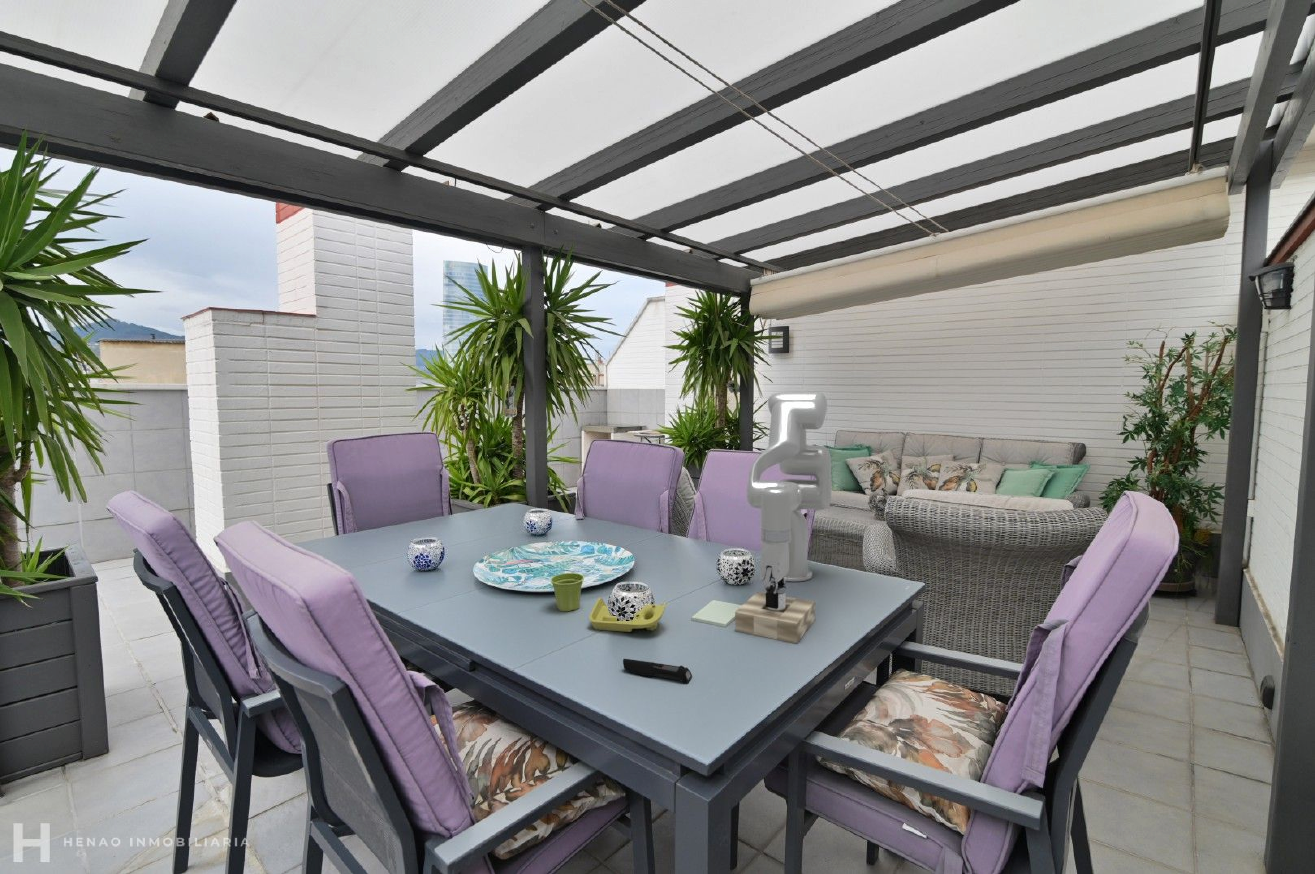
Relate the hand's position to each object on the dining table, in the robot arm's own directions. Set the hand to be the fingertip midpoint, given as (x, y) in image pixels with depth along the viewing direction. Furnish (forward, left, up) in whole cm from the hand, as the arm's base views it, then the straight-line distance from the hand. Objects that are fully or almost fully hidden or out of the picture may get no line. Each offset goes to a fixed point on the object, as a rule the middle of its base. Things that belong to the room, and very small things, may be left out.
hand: (775, 603), depth 156 cm
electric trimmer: (+37, -14, -7) cm, 40 cm away
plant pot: (+15, -56, -6) cm, 58 cm away
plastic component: (+18, -34, -6) cm, 39 cm away
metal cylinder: (0, 0, -6) cm, 6 cm away
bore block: (0, 0, -6) cm, 6 cm away
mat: (0, -16, -6) cm, 17 cm away
